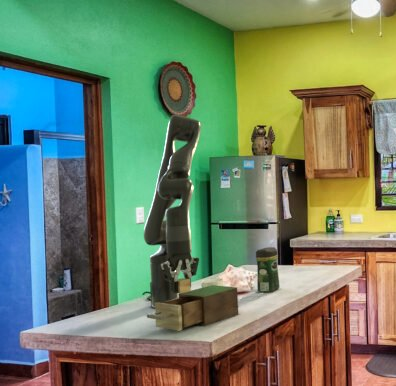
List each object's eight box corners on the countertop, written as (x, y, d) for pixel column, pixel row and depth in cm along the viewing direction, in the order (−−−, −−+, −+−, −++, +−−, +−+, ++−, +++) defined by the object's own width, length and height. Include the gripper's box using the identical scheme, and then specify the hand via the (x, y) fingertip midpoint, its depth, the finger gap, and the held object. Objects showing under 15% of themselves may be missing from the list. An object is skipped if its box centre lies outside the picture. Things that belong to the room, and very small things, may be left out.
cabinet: (205, 325, 159) (203, 296, 159) (179, 321, 165) (178, 293, 165) (238, 314, 172) (237, 287, 171) (213, 311, 178) (212, 285, 178)
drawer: (166, 335, 147) (165, 309, 147) (143, 330, 153) (141, 306, 153) (213, 319, 163) (212, 296, 163) (190, 316, 168) (189, 293, 168)
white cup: (217, 309, 180) (215, 282, 180) (198, 309, 182) (196, 282, 182) (228, 303, 188) (226, 278, 188) (209, 303, 189) (208, 278, 189)
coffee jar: (266, 287, 215) (264, 246, 215) (282, 288, 213) (280, 246, 212) (254, 292, 206) (252, 249, 206) (270, 293, 204) (268, 249, 203)
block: (172, 292, 158) (171, 280, 158) (182, 290, 161) (182, 278, 161) (180, 293, 156) (179, 281, 156) (190, 290, 159) (190, 278, 159)
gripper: (167, 242, 150) (170, 297, 151) (204, 236, 163) (206, 287, 163) (151, 241, 154) (154, 295, 154) (189, 236, 166) (191, 286, 167)
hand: (181, 291), depth 159 cm, fingers closed on block, 4 cm apart
